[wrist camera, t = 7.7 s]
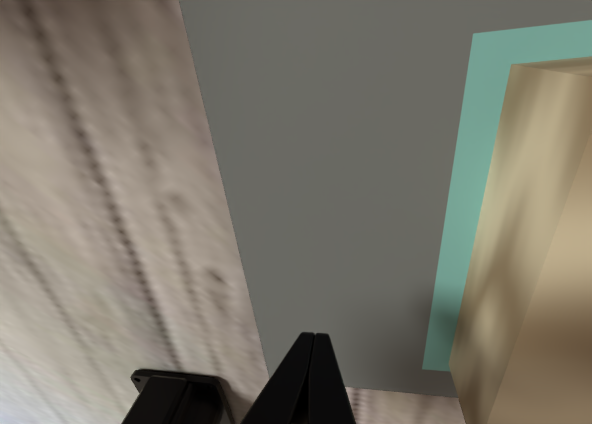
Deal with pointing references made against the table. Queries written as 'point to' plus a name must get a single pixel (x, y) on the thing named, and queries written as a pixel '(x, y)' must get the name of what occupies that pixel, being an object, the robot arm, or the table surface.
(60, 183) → the table surface
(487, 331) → the t block
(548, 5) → the push mat
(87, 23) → the table surface
